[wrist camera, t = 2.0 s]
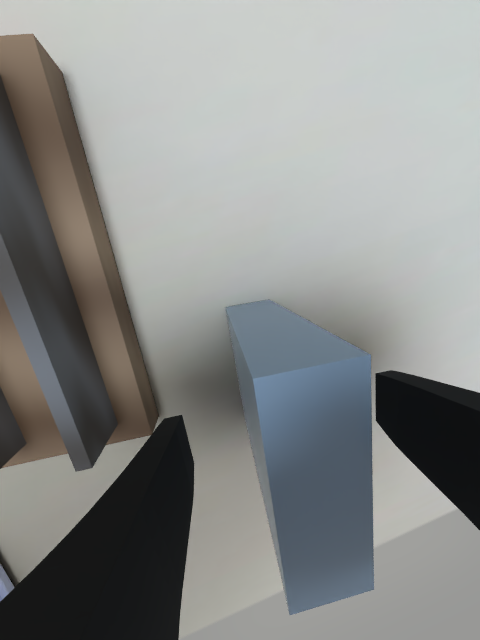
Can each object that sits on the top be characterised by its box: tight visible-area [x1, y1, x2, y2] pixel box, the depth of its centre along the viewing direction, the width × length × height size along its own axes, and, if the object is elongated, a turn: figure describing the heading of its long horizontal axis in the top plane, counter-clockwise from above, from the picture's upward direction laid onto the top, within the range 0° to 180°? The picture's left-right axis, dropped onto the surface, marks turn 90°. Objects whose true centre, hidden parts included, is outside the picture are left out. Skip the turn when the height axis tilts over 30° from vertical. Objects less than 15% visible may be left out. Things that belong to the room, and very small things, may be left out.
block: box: [225, 299, 374, 615], centre depth 9 cm, size 7×2×8 cm, turn 9°
